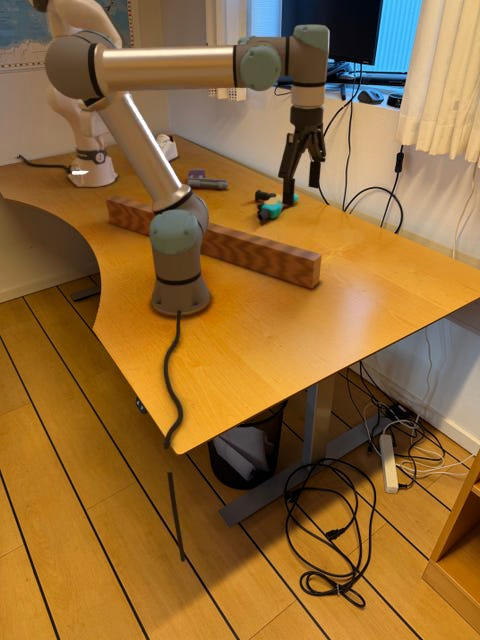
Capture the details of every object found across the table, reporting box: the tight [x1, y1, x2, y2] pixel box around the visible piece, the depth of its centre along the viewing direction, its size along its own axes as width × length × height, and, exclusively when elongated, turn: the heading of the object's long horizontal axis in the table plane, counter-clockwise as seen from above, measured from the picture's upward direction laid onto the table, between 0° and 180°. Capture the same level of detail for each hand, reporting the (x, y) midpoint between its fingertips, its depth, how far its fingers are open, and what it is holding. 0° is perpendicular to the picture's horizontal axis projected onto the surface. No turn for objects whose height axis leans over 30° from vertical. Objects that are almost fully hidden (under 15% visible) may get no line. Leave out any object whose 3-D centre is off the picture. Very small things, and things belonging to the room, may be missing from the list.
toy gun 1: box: [185, 168, 229, 190], centre depth 195 cm, size 4×19×15 cm
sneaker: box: [156, 133, 179, 162], centre depth 214 cm, size 10×29×12 cm, turn 163°
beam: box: [105, 194, 322, 290], centre depth 147 cm, size 79×4×9 cm, turn 56°
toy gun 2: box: [254, 189, 299, 223], centre depth 172 cm, size 4×26×15 cm
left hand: (114, 145), depth 149 cm, fingers open, 8 cm apart
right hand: (301, 195), depth 120 cm, fingers open, 13 cm apart
